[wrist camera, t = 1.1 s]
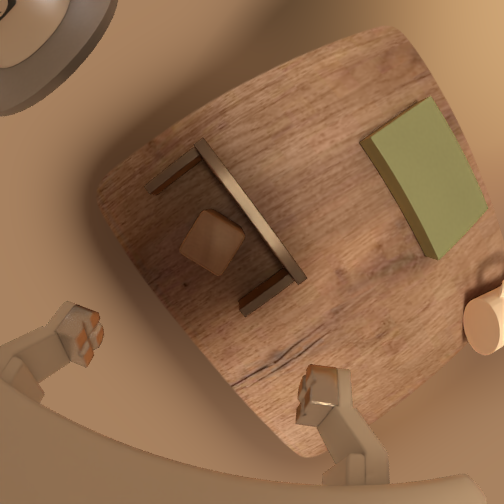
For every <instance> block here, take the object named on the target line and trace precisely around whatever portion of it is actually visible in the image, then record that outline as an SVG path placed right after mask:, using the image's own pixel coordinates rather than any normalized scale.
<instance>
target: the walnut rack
mask: <svg viewBox="0 0 504 504" xmlns="http://www.w3.org/2000/svg"><path fill="white" fill-rule="evenodd" d="M194 146H195V147H193V148H192V149H190V150H189V151H188V152H186V153H185V154H184V155H183V156H181V157H180V158H179V159H177V160H176V161H175V162H173V163H172V164H171V165H170V166H168V167H167V168H166V169H165V170H163V171H162V172H161V173H160V174H158V175H157V176H156V177H155V178H153V179H152V180H151V181H150V182H149V183H147V184H146V185H145V186H144V187H145V189H146V190H147V191H148V193H149V194H153V195H158V194H159V193H160V192H162V191H163V190H164V189H165V188H167V187H168V186H169V185H170V184H172V183H173V182H174V181H175V180H177V179H178V178H179V177H180V176H182V175H183V174H184V173H186V172H187V171H188V170H190V169H191V168H192V167H193V166H195V165H196V164H197V163H199V162H200V161H201V160H204V161H205V163H206V164H207V165H208V167H209V168H210V169H211V171H212V172H213V173H214V175H215V176H216V177H217V178H218V180H219V181H220V182H221V184H222V185H223V186H224V188H225V189H226V190H227V192H228V193H229V194H230V196H231V197H232V198H233V200H234V201H235V202H236V204H237V205H238V206H239V208H240V209H241V210H242V212H243V213H244V214H245V216H246V217H247V218H248V220H249V221H250V222H251V224H252V225H253V226H254V228H255V229H256V230H257V232H258V233H259V234H260V236H261V237H262V239H263V240H264V241H265V243H266V244H267V245H268V247H269V248H270V249H271V251H272V252H273V253H274V255H275V256H276V257H277V259H278V260H279V262H280V263H281V264H282V266H283V267H284V268H283V269H281V270H280V271H279V272H277V273H276V274H275V275H273V276H272V277H270V278H269V279H268V280H266V281H265V282H264V283H262V284H261V285H260V286H258V287H257V288H256V289H254V290H253V291H251V292H250V293H249V294H247V295H246V296H245V297H243V298H242V299H240V300H239V311H240V312H241V313H242V314H243V315H244V317H246V316H248V315H249V314H251V313H252V312H253V311H255V310H256V309H257V308H259V307H260V306H262V305H263V304H264V303H266V302H267V301H269V300H270V299H271V298H273V297H274V296H275V295H277V294H278V293H279V292H281V291H282V290H284V289H285V288H286V287H288V286H289V285H290V284H292V283H293V282H294V281H295V282H296V283H297V284H298V285H299V284H301V283H302V282H303V281H305V280H306V279H307V277H306V275H305V274H304V273H303V271H302V270H301V268H300V267H299V266H298V264H297V263H296V261H295V260H294V259H293V257H292V256H291V255H290V253H289V252H288V250H287V249H286V248H285V246H284V245H283V243H282V242H281V241H280V239H279V238H278V237H277V235H276V234H275V233H274V231H273V230H272V228H271V227H270V226H269V224H268V223H267V222H266V220H265V219H264V218H263V216H262V215H261V213H260V212H259V211H258V209H257V208H256V207H255V205H254V204H253V203H252V201H251V200H250V199H249V197H248V196H247V195H246V193H245V192H244V191H243V189H242V188H241V187H240V185H239V184H238V183H237V181H236V180H235V179H234V177H233V176H232V175H231V173H230V172H229V171H228V169H227V168H226V167H225V166H224V164H223V163H222V162H221V160H220V159H219V158H218V156H217V155H216V154H215V152H214V151H213V150H212V149H211V147H210V146H209V145H208V143H207V142H206V141H205V140H204V138H202V139H200V140H199V141H198V142H196V143H195V144H194ZM195 148H196V149H195ZM293 279H294V280H293Z"/></svg>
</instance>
